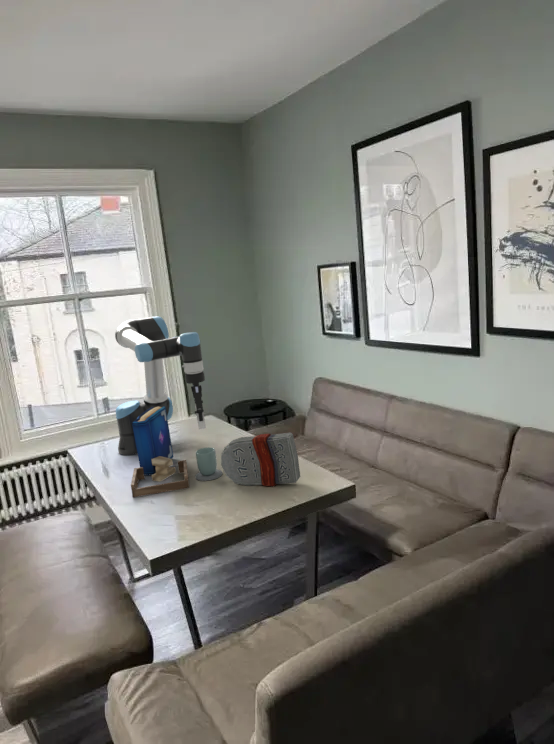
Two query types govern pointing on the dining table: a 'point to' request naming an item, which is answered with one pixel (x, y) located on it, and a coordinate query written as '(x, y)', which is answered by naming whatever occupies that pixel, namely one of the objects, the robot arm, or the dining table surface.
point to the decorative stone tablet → (261, 460)
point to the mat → (210, 477)
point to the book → (152, 437)
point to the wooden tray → (139, 475)
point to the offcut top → (162, 462)
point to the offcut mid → (161, 471)
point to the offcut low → (159, 478)
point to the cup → (206, 461)
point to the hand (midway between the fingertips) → (201, 424)
